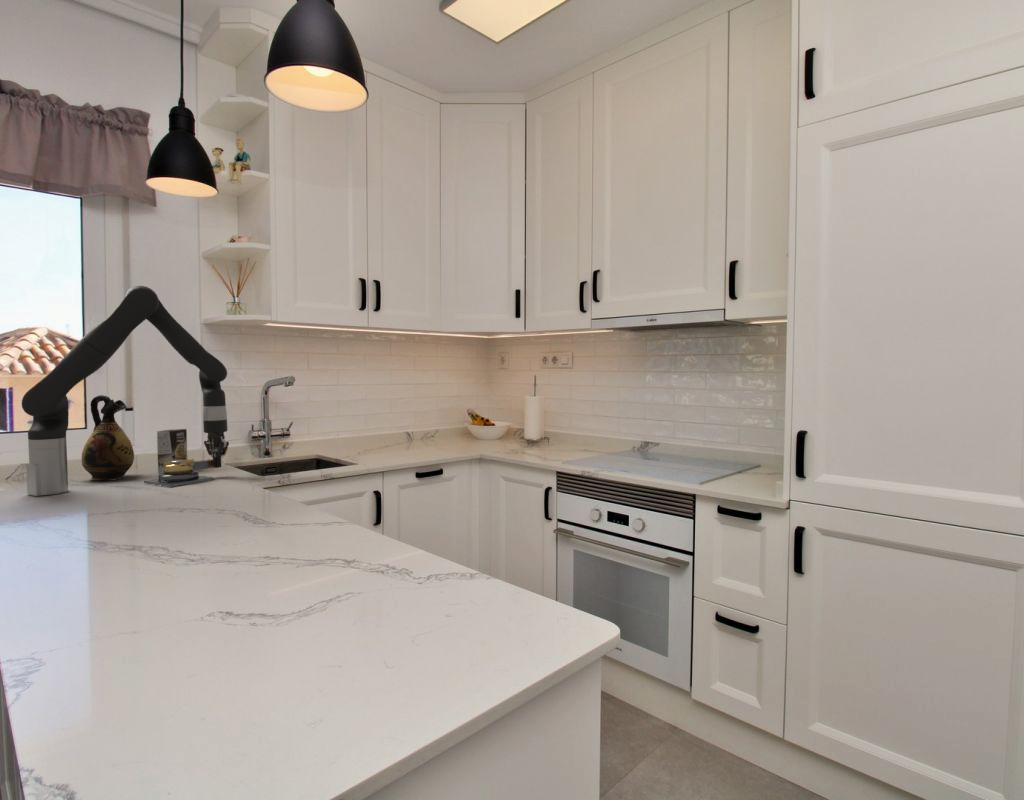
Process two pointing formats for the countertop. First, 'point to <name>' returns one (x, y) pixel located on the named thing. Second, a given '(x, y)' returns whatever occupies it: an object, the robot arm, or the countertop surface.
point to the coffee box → (171, 446)
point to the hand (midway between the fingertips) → (217, 467)
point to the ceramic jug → (107, 443)
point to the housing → (178, 478)
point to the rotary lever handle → (186, 466)
